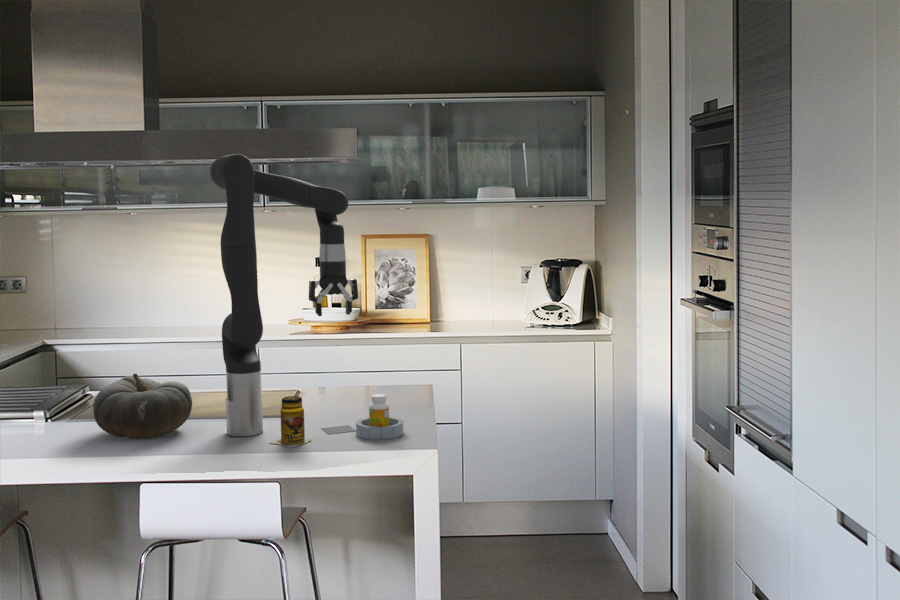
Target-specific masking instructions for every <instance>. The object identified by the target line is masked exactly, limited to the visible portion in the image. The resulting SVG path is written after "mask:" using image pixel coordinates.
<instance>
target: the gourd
mask: <svg viewBox="0 0 900 600" xmlns="http://www.w3.org/2000/svg"><path fill="white" fill-rule="evenodd" d="M92 406H93V415H94V416H93V417H94V420H95V423H96V424H97V426H98V427H99V428H100V429H101V430H102V431H104V432H105V433H107V434H109V435H111V436H113V437H116V438H123V437H126V438H128V439H133V440H150V439H155V438H159V437H163V436H165V435H167V434H170V433H171V432H173V431H176V430H177V429H179V428H180V427H182V426H183V425H184V424H185V423H186V421H187V420H188V419H189V417H190V416H191V413H192V410H193V409H192V408H193V399H192V395H191V391H190V389H189V387H188V386H186V384H184V383H182V382H179V381H165V382H163V383H161V382H158V381H155V380H154V379H150V378H142V377H139V376H138V374H137V373H135V372H134V373H133V374H132V376H131V375H128V376H123V377H122V378H120V379H119V380H116V381H113V382H112V383H110V384H108V385H106V386H104V387H103V388H102V389H101V390H100V391H99V392H98V393H97V394H96V396H95V398H94V400H93V405H92Z"/></svg>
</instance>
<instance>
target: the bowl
mask: <svg viewBox="0 0 900 600" xmlns="http://www.w3.org/2000/svg"><path fill="white" fill-rule="evenodd" d="M404 427H405V426H404V420H403V419H401V418H399V417H393V416H389V426H383V427H371V426H370V421H369V417H365V418H362V419H359V420H357V422H355V430H356V431H355V433H356V436H357V437H359V438H360V439H365V440H374V441H375V440H379V441H380V440H381V441H382V440H390V439H396V438H399V437H402V436H403V434H404V431H405V430H404Z"/></svg>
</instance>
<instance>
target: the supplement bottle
mask: <svg viewBox="0 0 900 600" xmlns="http://www.w3.org/2000/svg"><path fill="white" fill-rule="evenodd" d="M368 410H369V411H368V412H369V413H368V415H369V416H368V418H369V421H370V426H371V427H383V426H389V417H390V405H389V403H388V402H387V395H386V393H385V394H384V393H376V394H372V395H371V403H370V404H369V406H368Z"/></svg>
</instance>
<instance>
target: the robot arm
mask: <svg viewBox="0 0 900 600" xmlns="http://www.w3.org/2000/svg"><path fill="white" fill-rule="evenodd" d="M209 173H210V174H209V175H210V178H211V180H212V182H213V183H214V184H215V185H216V186H217V187H218V188H220V189H223V190H225V194H226V214H225V218H224V222H223V226H222V230H221V234H220V255H221V258H220V259H221V265H222V270H223V274H224V278H225V281H226V284H227V286H228V290H229V293H230V301H231V313H230V314H228V315H227V316H226V317H225V318H224V320H223V322H222V327H221V341H222V342H221V343H222V355H223V357H222V358H223V361H224V364H225V371H226V372H225V373H226V374H225V375H226V377H225V378H226V398H225V412H226V413H225V416H226V432H227V434H228V435H229V437H231V438H232V437H250V436H251V437H253V436H257V435H259V434H262V433H263V432H264V423H263V422H264V421H263V401H262V399H263V397H262V396H263V394H262V366H261V364H262V363H261V360H260V357H259V354H258V352H257V346H256V345H258V343H260V341H261V340H262V337H263V333H264V326H263V319H262V314H261V313H262V312H261V306H260V300H259V292H258V291H259V289H258V288H259V287H258V285H259V283H258V258H257V257H258V256H257V254H258V253H257V243H256V229H255V213H254V212H255V211H254V202H255V201H254V200H255V199H254V198H255V196H254V195H255V194H257V195H261V196H265V197H269V198H271V199H274V200H278V201H281V202H284V203H288V204H291V205H295V206H299V207H301V208H306V209H314V213H315V216H316V222H317V224H318V227H319V256H318V257H319V258H318V259H319V280H313V279H312V280H309V282H308V300H309V301H310V302H313V303H314V305H315V307H314V308H315V309H314V310H315V314H316V315H317V316H318V317H322V315H323V311H322V310H323V309H322V308H323V305H322V302H323V300H324V298H325V297H326V296H327V295H329V296H332V295H340V294H341V296H342V297H343V298H344V299H345V300H346V301H345V315H347V316H348V315H351V313H352V312H353V301H356V300H358V299H359V290H358V280H357V278H351V279H347V265H346V264H347V260H346V259H347V256H346V254H347V253H346V247H345V245H346V244H345V229H344V228H345V227H344V225H342V223H339V221H338V216H339V215H341V214H343V213H345V212H346V210H348V207H349V200H348V197H347V196H346V195H345V193H344V192H342V191H341V190H339V189H335V188H332V187H326V186H319V185H315V184H313V183H310V182H306V181H304V180H301V179H297V178H293V177H291V176H290V177H289V176H287V175H286V176H284V175H280V174H274V173H269V172H263V171H260V170H257V169H254V166H253V162H251V160H250V158H248V157H247V156H246V155H244V154H242V153H241V154H240V153H236V154H235V153H233V154H227V155H223V156H220V157H218V158H217V159H215V160H214V161H213V162H212V164H211V166H210V169H209ZM347 285H348V286H349V287H350V291H351V292H350V293H351V295H350V294H349V292H348V291H347V289H346V287H347ZM318 286H319V287H320V288H321V290H320V291H319V292H318V295H317V296H316V289H318Z"/></svg>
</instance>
